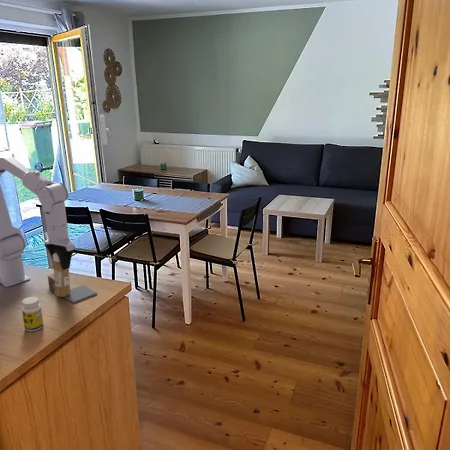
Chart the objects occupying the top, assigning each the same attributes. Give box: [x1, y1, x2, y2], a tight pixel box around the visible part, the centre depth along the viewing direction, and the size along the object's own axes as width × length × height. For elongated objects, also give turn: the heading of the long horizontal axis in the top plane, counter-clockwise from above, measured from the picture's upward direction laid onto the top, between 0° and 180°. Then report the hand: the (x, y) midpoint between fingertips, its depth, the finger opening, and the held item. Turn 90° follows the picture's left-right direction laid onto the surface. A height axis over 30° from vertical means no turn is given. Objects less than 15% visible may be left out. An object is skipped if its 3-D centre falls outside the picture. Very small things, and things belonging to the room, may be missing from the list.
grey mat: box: [62, 284, 98, 304], centre depth 134 cm, size 8×8×1 cm
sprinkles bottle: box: [52, 253, 71, 297], centre depth 130 cm, size 5×5×14 cm
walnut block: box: [47, 273, 56, 293], centre depth 138 cm, size 4×4×5 cm
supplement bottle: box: [21, 296, 44, 332], centre depth 115 cm, size 5×5×8 cm
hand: (61, 266), depth 130 cm, fingers closed on sprinkles bottle, 4 cm apart
